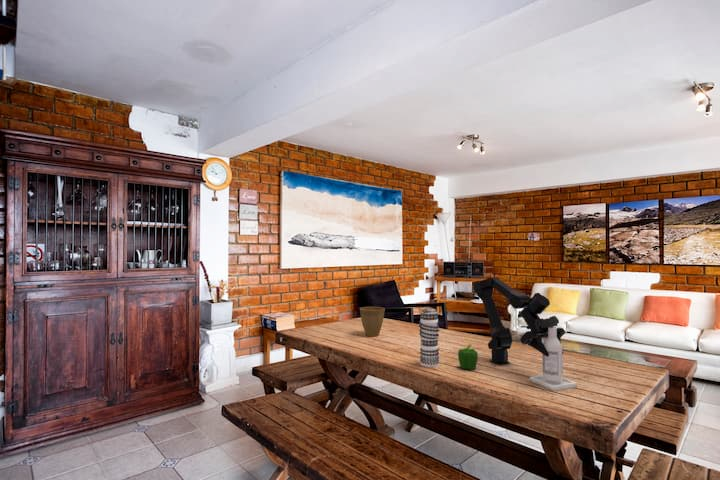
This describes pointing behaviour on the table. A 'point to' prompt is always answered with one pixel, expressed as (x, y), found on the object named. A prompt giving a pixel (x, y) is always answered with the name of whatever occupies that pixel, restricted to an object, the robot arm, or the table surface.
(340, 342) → the table surface
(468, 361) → the bell pepper
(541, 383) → the tray
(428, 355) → the leaning tower model
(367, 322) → the plant pot
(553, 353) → the bath foam
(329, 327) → the table surface
